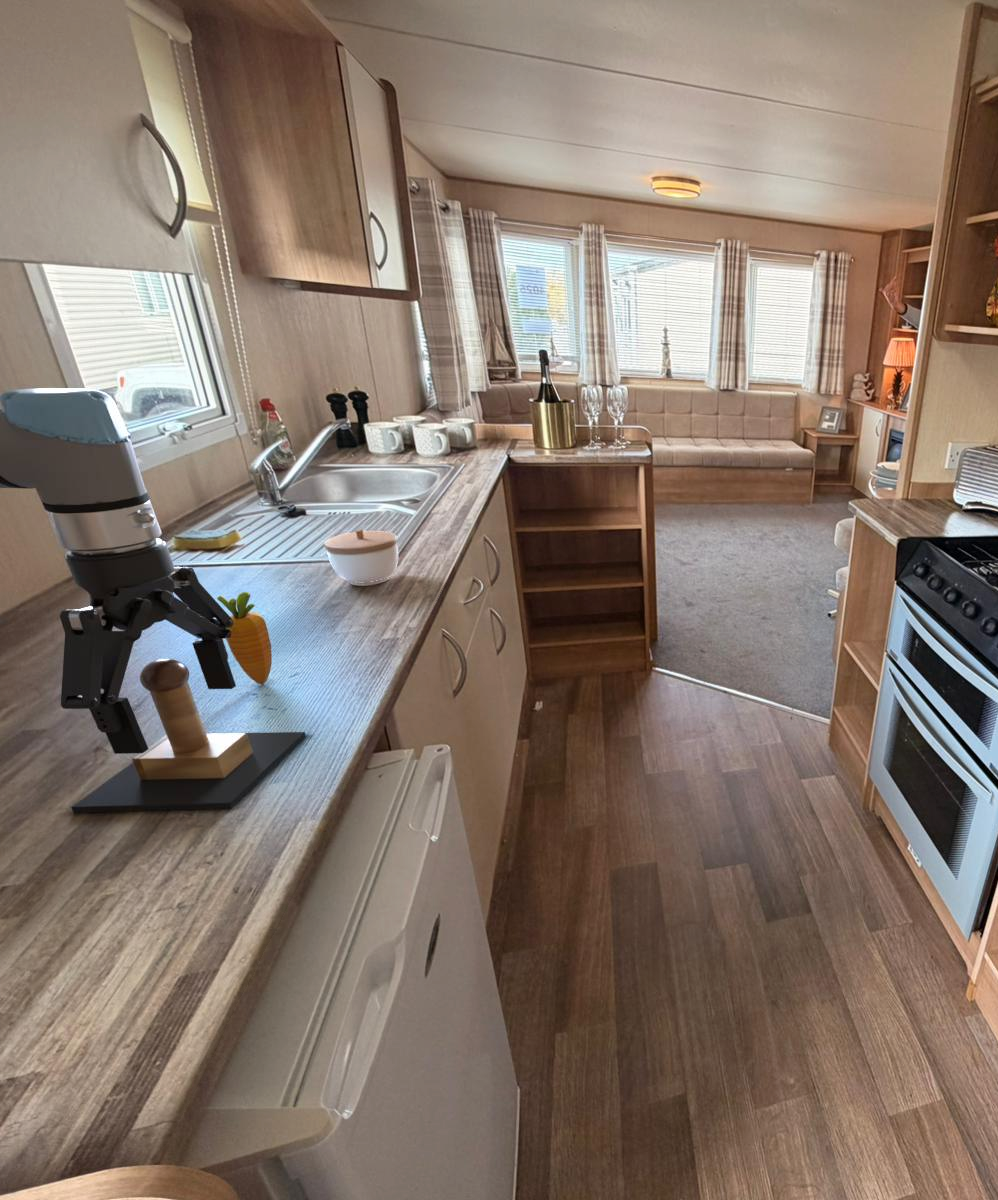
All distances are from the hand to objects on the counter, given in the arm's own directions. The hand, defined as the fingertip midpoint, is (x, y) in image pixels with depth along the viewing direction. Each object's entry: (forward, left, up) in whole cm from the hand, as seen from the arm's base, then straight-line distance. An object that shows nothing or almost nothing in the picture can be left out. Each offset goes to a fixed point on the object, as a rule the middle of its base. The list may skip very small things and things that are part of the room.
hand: (180, 717), depth 75 cm
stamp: (0, 0, -7) cm, 7 cm away
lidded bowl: (-12, +65, -8) cm, 67 cm away
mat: (0, 0, -8) cm, 8 cm away
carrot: (-6, +21, -8) cm, 23 cm away
